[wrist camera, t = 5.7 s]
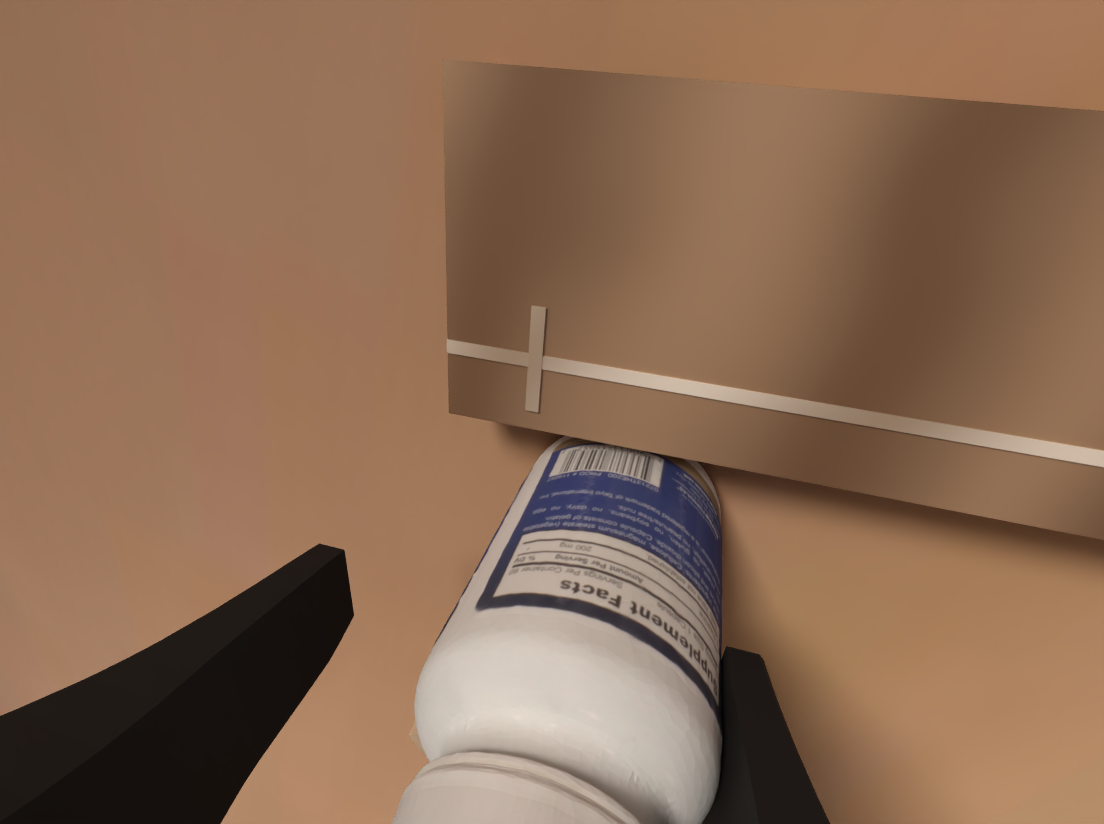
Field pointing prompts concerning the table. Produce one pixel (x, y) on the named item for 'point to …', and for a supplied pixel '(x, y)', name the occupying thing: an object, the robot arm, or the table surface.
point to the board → (785, 282)
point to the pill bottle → (582, 653)
